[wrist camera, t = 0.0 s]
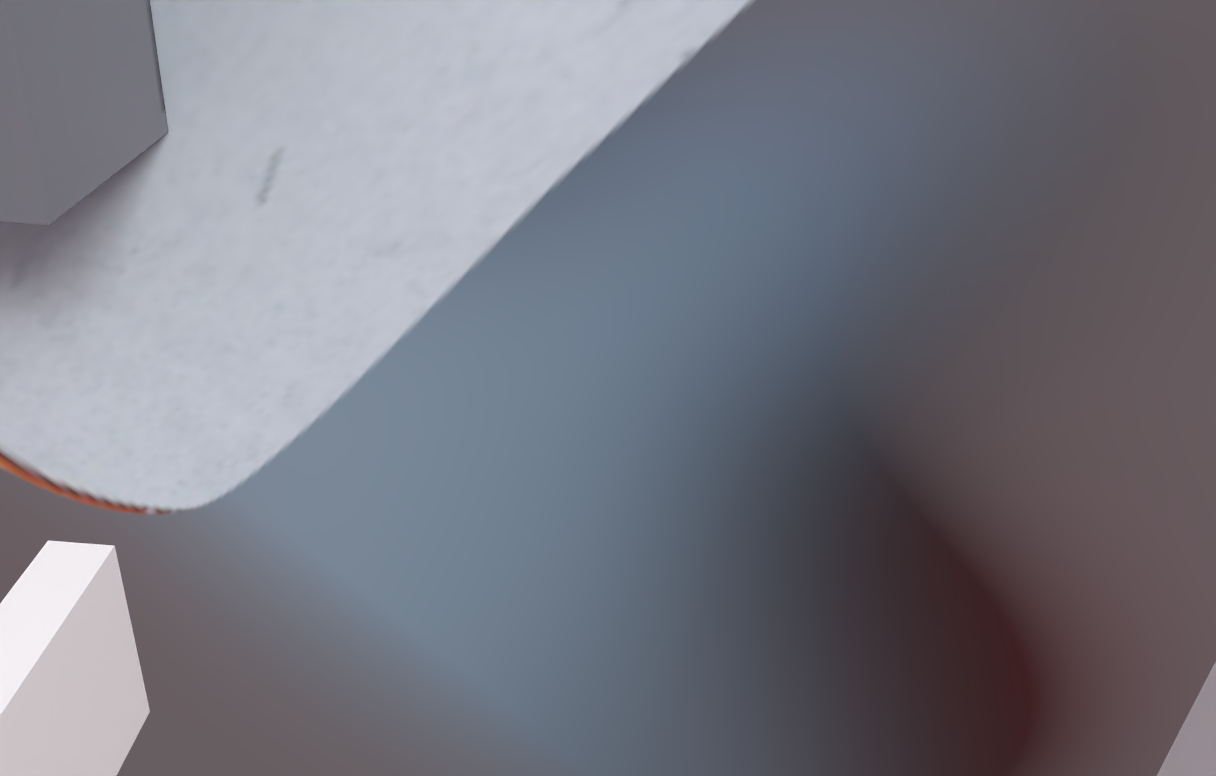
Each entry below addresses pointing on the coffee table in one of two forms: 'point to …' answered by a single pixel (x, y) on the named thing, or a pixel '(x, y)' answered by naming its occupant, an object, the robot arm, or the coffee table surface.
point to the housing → (73, 100)
